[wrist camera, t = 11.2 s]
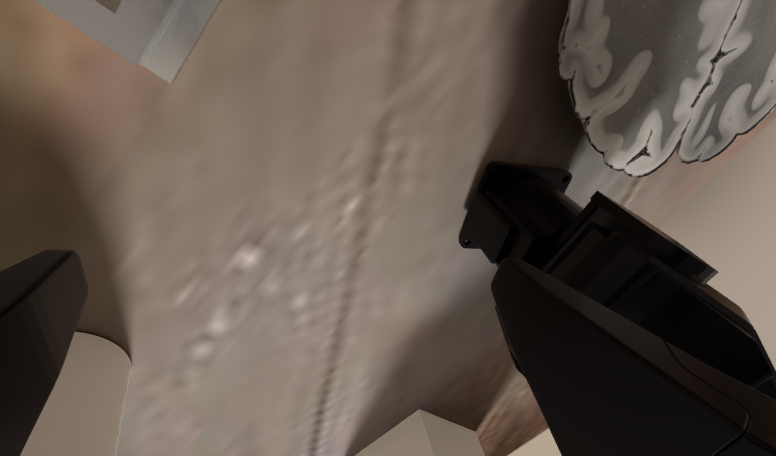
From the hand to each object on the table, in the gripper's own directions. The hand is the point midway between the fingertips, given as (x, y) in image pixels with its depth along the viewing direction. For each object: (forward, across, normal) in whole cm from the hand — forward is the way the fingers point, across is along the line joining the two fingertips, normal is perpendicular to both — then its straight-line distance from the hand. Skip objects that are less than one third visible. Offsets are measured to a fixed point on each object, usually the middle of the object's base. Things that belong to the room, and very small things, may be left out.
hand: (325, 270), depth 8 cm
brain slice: (+14, -21, -8) cm, 26 cm away
